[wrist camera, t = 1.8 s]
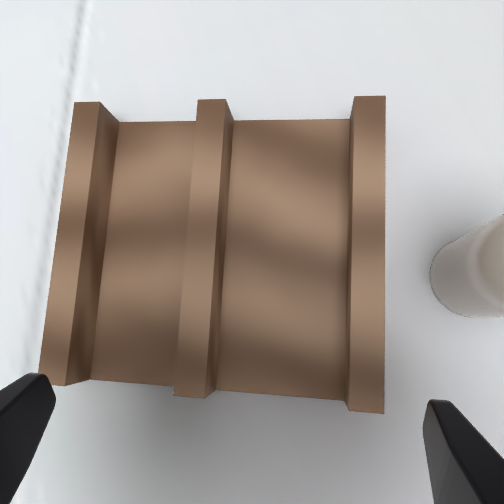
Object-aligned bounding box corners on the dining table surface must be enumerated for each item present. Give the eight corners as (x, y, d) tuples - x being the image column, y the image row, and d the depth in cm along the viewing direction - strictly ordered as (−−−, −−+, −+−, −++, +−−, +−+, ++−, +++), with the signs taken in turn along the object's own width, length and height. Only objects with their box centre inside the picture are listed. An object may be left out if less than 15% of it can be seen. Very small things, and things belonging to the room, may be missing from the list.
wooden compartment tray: (373, 399, 22) (385, 413, 19) (73, 375, 25) (35, 383, 21) (375, 126, 25) (386, 95, 21) (103, 129, 27) (73, 102, 24)
